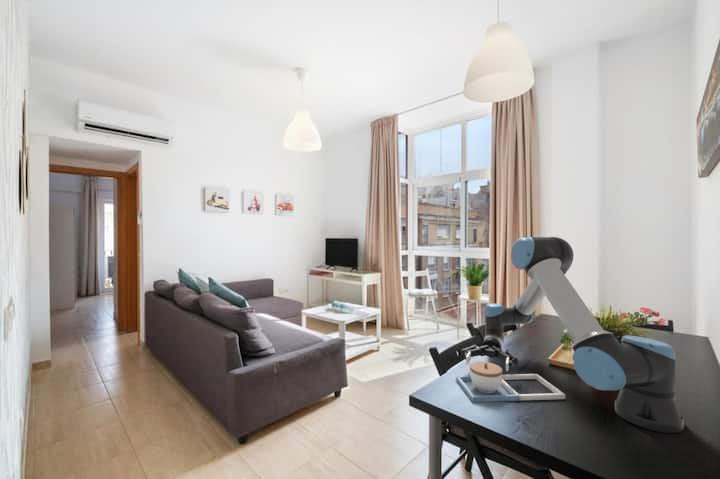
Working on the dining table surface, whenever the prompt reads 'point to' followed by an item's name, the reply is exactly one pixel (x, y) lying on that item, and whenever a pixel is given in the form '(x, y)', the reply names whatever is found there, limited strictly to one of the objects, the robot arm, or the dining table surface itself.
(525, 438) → the dining table surface
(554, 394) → the white square frame
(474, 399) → the blue bezel
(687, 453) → the dining table surface
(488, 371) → the lidded jar
